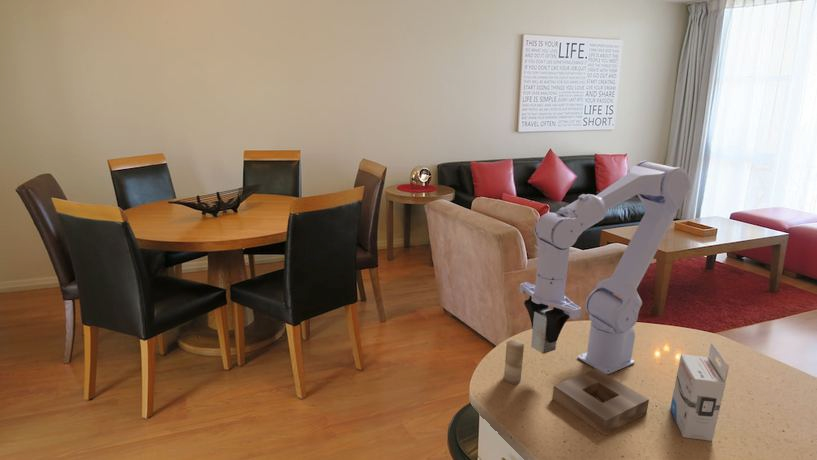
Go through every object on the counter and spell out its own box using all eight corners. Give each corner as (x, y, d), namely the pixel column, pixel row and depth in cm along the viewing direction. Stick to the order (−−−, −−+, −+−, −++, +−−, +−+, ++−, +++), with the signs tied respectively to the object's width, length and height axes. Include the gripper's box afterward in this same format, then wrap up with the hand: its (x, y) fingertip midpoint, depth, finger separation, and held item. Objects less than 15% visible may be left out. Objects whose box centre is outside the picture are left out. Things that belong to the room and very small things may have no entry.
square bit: (543, 342, 108) (546, 307, 105) (555, 349, 105) (559, 313, 103) (531, 346, 106) (534, 311, 104) (543, 354, 103) (546, 317, 101)
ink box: (669, 408, 98) (682, 338, 93) (697, 412, 97) (712, 341, 92) (682, 438, 90) (698, 362, 85) (713, 442, 89) (730, 366, 84)
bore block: (593, 381, 106) (595, 368, 105) (646, 413, 96) (649, 399, 95) (552, 399, 100) (553, 385, 99) (604, 435, 90) (606, 420, 89)
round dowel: (512, 372, 108) (515, 338, 106) (524, 380, 105) (527, 345, 103) (500, 377, 107) (503, 342, 104) (511, 385, 104) (514, 350, 101)
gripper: (510, 266, 105) (505, 327, 109) (565, 291, 93) (558, 358, 97) (535, 260, 108) (530, 319, 112) (592, 284, 97) (583, 348, 101)
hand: (544, 337), depth 105 cm, fingers closed on square bit, 3 cm apart
